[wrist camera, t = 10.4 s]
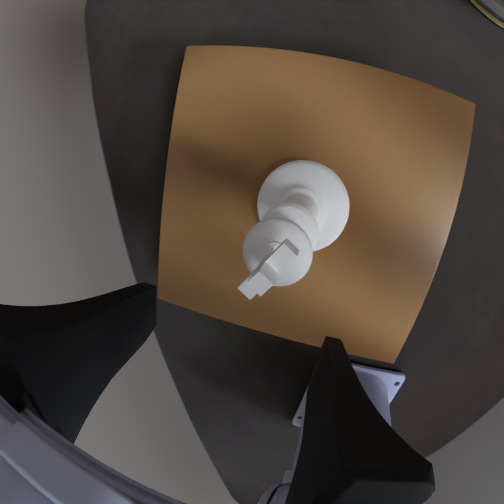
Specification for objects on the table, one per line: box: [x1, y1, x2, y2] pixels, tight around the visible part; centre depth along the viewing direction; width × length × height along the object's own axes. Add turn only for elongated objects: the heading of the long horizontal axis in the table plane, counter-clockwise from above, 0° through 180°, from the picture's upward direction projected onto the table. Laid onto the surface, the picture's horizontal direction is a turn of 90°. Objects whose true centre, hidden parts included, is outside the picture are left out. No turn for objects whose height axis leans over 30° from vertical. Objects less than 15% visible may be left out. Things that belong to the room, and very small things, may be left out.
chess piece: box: [238, 160, 349, 300], centre depth 11 cm, size 5×5×10 cm
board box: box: [158, 45, 475, 363], centre depth 17 cm, size 17×17×4 cm
